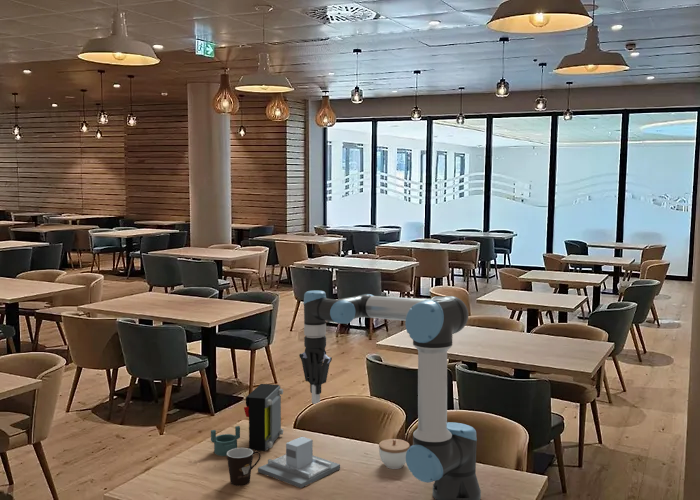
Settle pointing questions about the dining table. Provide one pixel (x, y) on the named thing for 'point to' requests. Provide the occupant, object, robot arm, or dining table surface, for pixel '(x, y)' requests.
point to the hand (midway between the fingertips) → (315, 402)
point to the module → (299, 452)
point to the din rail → (304, 471)
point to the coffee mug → (240, 465)
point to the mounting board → (294, 478)
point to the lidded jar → (393, 452)
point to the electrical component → (264, 416)
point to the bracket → (225, 441)
